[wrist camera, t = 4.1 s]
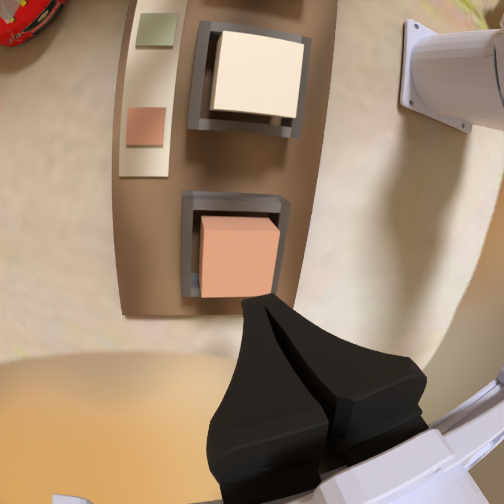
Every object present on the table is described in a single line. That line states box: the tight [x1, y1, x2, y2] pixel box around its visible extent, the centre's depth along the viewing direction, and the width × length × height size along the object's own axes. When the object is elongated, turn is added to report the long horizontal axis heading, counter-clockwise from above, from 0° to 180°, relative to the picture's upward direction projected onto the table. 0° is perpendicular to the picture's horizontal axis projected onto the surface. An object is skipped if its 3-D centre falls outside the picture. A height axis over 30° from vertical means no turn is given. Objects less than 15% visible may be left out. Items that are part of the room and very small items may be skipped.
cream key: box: [209, 31, 304, 118], centre depth 14 cm, size 4×4×2 cm
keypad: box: [112, 0, 338, 315], centre depth 15 cm, size 13×32×3 cm, turn 174°
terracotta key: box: [198, 215, 280, 298], centre depth 18 cm, size 4×4×2 cm
